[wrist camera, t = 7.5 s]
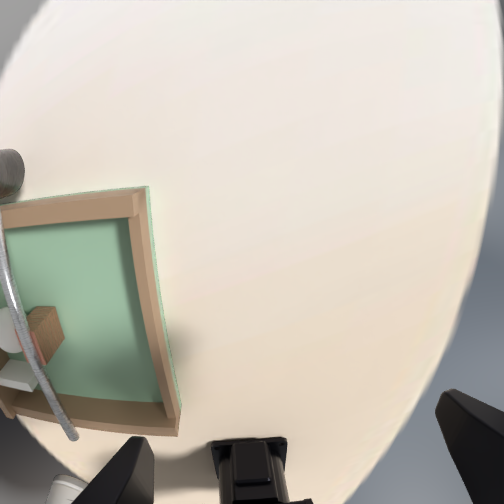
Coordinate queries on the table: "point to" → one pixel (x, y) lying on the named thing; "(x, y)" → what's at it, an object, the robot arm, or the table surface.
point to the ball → (8, 332)
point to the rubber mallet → (42, 317)
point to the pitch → (92, 312)
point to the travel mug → (65, 489)
